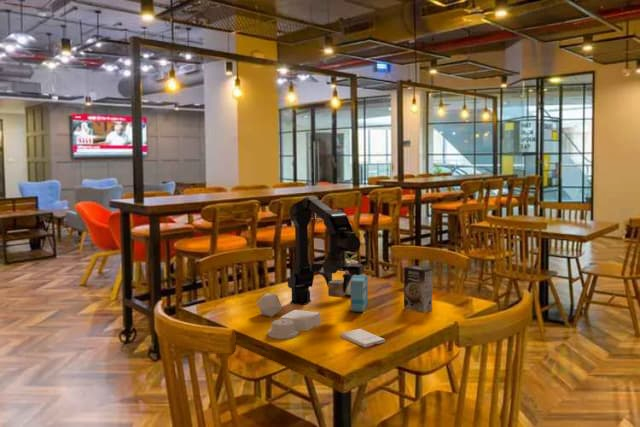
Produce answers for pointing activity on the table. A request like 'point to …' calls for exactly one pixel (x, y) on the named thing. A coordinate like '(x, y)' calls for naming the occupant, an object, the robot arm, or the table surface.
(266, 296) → the die
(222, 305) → the table surface
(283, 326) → the mechanical component
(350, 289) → the flower in vase
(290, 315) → the grey block
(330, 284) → the grey cube
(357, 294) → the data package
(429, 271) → the coffee box
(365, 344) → the external hard drive
